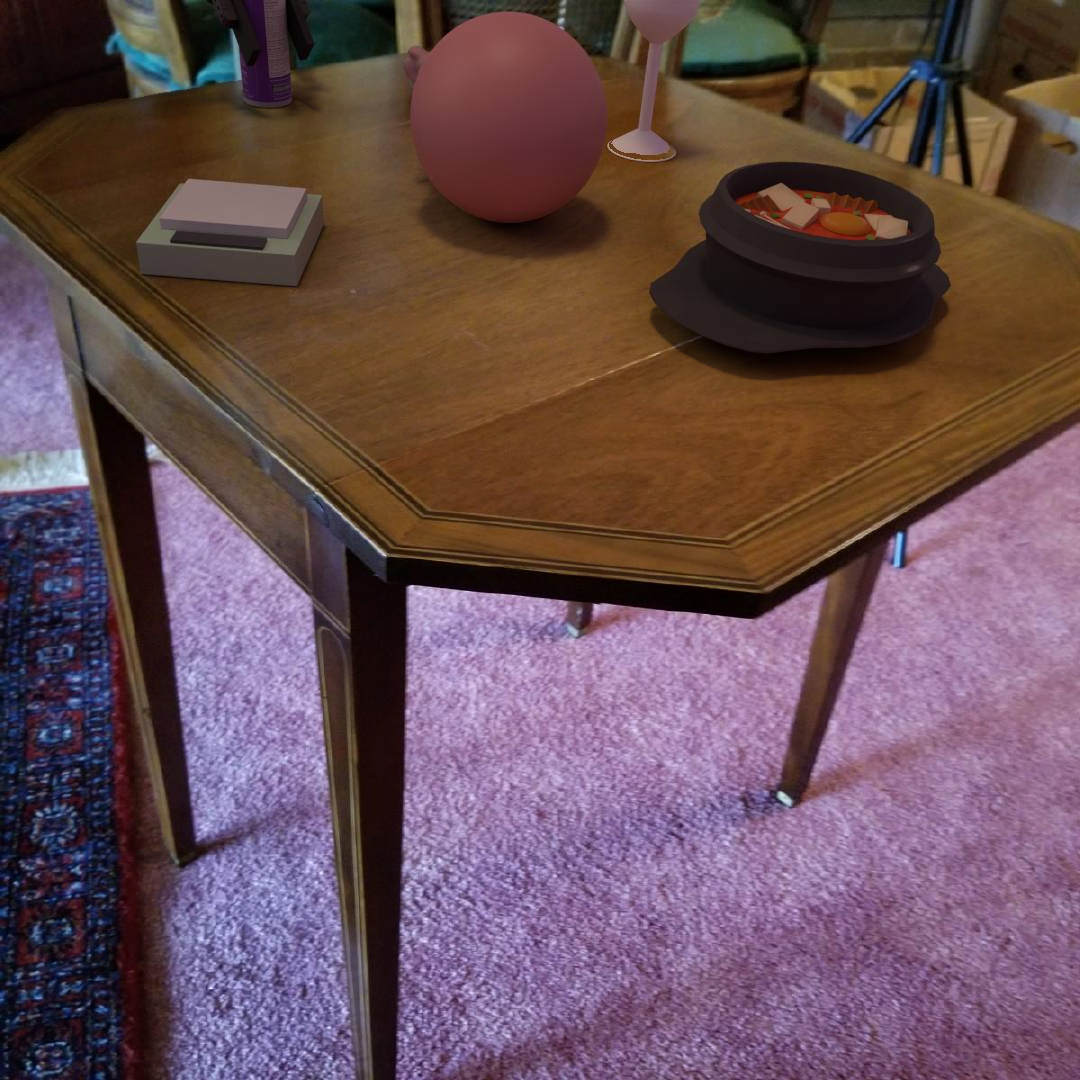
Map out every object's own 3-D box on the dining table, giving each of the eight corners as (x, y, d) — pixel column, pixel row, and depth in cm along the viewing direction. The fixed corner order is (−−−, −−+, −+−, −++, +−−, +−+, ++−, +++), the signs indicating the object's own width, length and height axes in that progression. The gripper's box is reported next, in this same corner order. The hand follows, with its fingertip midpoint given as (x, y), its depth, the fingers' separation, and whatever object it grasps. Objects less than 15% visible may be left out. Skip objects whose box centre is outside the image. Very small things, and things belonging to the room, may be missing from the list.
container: (233, 99, 107) (216, -73, 97) (268, 89, 110) (255, -78, 101) (267, 111, 105) (253, -63, 96) (302, 101, 108) (292, -69, 99)
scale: (140, 274, 77) (133, 231, 75) (183, 213, 85) (178, 173, 83) (296, 286, 77) (294, 244, 75) (324, 224, 86) (322, 184, 84)
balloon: (487, 152, 101) (496, -30, 91) (634, 229, 90) (661, 30, 80) (344, 181, 93) (337, -16, 83) (485, 271, 81) (496, 54, 72)
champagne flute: (598, 137, 107) (630, -150, 91) (663, 136, 108) (704, -146, 93) (618, 162, 102) (654, -137, 86) (685, 161, 103) (733, -133, 88)
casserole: (777, 413, 69) (808, 291, 63) (590, 295, 80) (602, 183, 74) (1001, 320, 82) (1042, 212, 76) (813, 230, 92) (838, 130, 87)
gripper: (99, -213, 94) (197, 41, 94) (288, -208, 103) (377, 24, 103) (90, -151, 100) (181, 86, 101) (268, -152, 109) (352, 66, 110)
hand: (280, 54), depth 102 cm, fingers closed on container, 5 cm apart
